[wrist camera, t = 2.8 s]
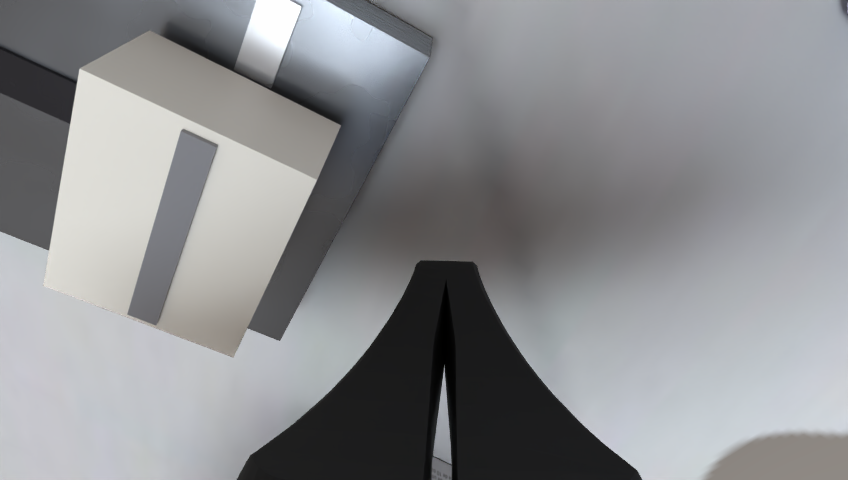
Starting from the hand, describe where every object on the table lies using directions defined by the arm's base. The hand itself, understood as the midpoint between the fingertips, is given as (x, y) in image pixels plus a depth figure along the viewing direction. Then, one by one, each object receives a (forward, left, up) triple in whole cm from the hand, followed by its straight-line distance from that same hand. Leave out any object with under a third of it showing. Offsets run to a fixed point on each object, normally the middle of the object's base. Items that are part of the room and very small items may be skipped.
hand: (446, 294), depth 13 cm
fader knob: (+6, 0, 0) cm, 6 cm away
